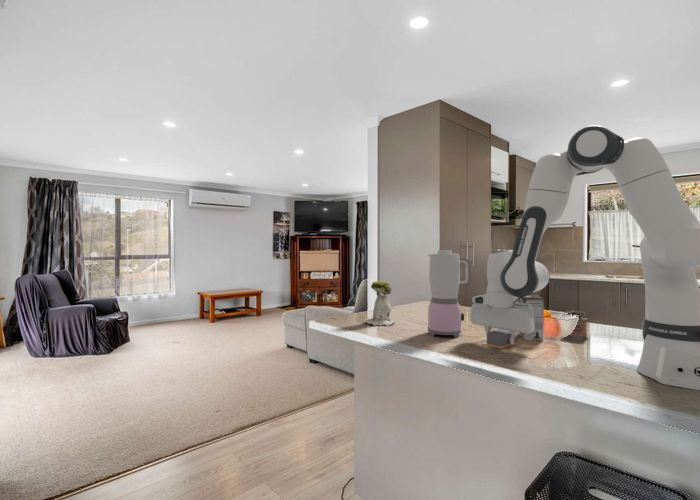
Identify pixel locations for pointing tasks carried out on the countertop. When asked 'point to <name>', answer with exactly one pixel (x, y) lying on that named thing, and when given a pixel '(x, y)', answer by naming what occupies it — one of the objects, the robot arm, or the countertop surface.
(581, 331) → the maroon upright canister
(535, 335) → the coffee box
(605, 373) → the countertop surface
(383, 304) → the stone planter with plant
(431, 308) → the blender
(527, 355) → the oak board
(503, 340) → the block
